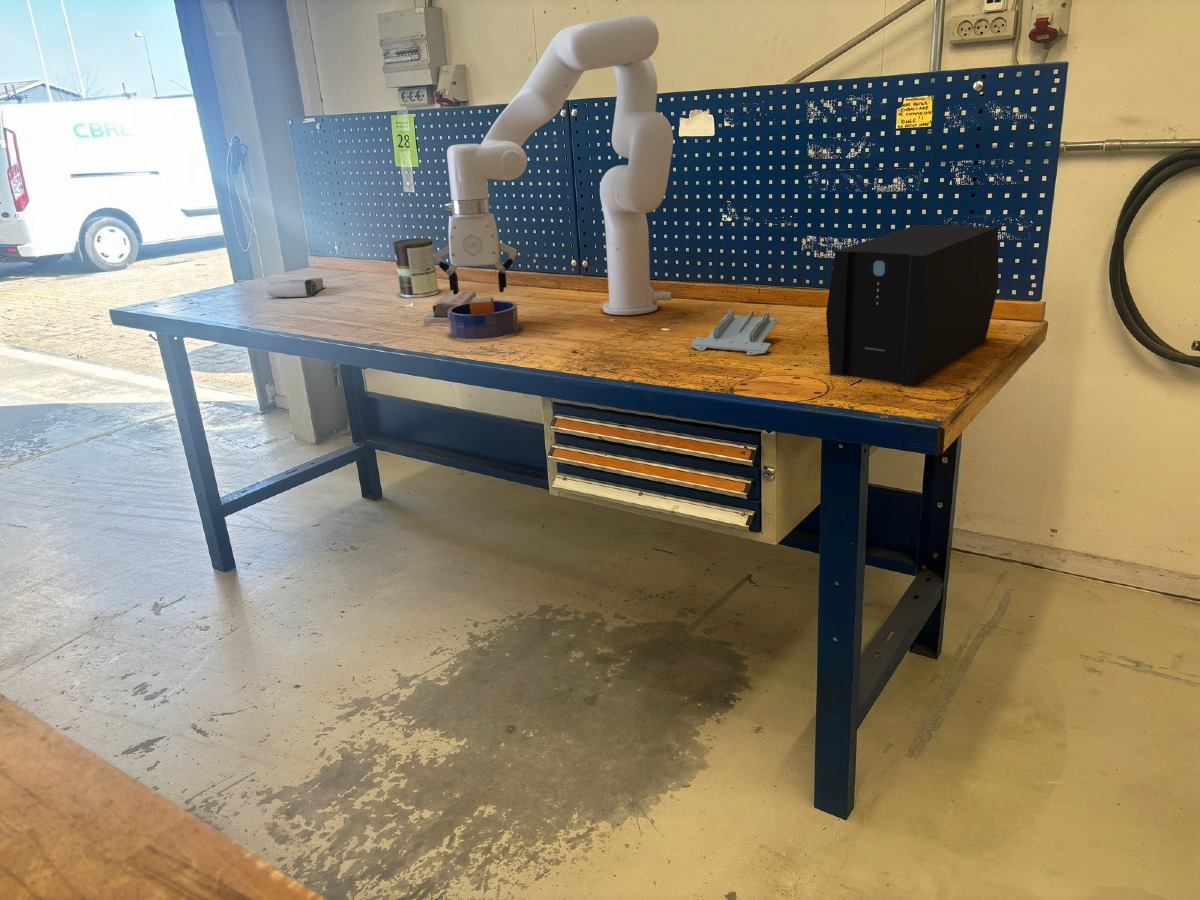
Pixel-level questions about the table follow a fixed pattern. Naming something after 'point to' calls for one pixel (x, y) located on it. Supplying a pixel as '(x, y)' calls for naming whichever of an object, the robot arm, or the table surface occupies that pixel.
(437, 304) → the packaged product
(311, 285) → the infrared thermometer
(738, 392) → the table surface
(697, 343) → the metal bracket
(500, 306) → the bowl
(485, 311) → the carton
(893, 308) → the uninterruptible power supply
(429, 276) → the coffee can
